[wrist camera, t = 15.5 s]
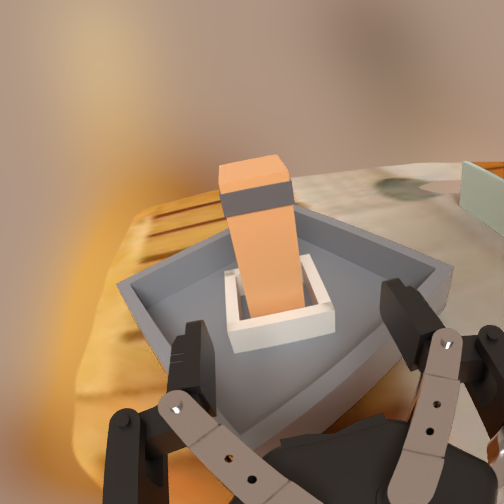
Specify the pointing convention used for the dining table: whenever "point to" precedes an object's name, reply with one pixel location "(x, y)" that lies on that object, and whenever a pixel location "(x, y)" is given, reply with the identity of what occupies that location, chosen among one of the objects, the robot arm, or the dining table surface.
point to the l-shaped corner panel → (483, 195)
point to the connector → (263, 233)
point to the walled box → (286, 325)
